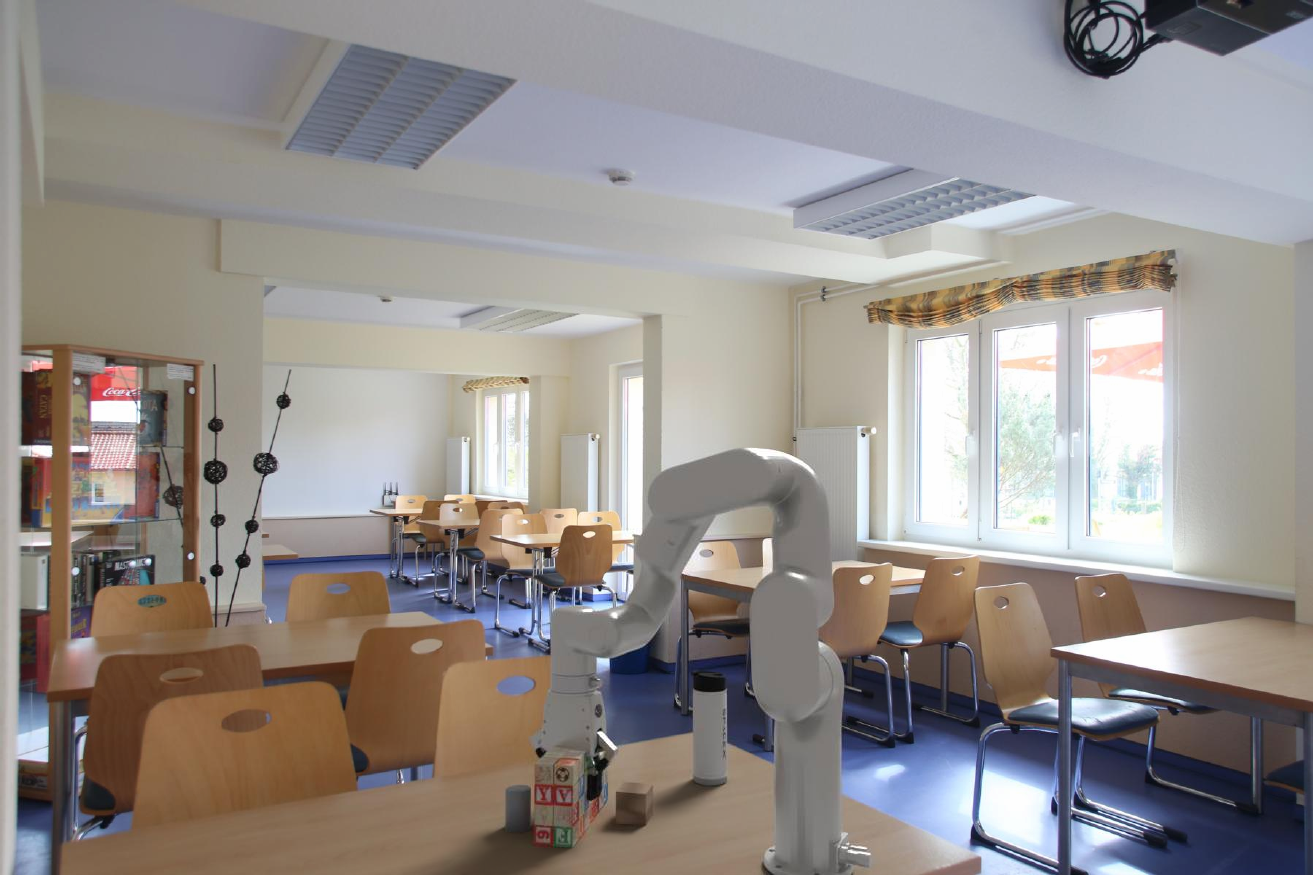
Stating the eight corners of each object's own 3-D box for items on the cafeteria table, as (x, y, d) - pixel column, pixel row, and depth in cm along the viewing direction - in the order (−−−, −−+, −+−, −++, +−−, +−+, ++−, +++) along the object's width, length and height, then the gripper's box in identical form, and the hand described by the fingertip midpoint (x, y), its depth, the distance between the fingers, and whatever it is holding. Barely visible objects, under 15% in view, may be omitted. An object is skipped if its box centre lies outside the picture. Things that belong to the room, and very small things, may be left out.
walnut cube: (652, 814, 147) (652, 783, 148) (645, 825, 143) (646, 793, 143) (623, 812, 149) (623, 781, 149) (615, 823, 144) (615, 791, 144)
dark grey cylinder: (535, 825, 142) (535, 787, 143) (520, 834, 139) (521, 794, 139) (515, 821, 144) (515, 783, 145) (499, 829, 141) (500, 790, 141)
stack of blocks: (573, 797, 156) (574, 725, 156) (608, 799, 154) (608, 727, 155) (533, 845, 135) (533, 761, 135) (573, 848, 133) (573, 764, 134)
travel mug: (686, 777, 166) (686, 668, 168) (719, 773, 168) (719, 666, 170) (698, 787, 161) (697, 674, 162) (732, 783, 163) (731, 672, 164)
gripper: (631, 684, 145) (631, 795, 144) (542, 673, 153) (541, 779, 152) (607, 693, 138) (607, 810, 137) (516, 682, 146) (514, 792, 145)
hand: (572, 793), depth 144 cm, fingers closed on stack of blocks, 7 cm apart
